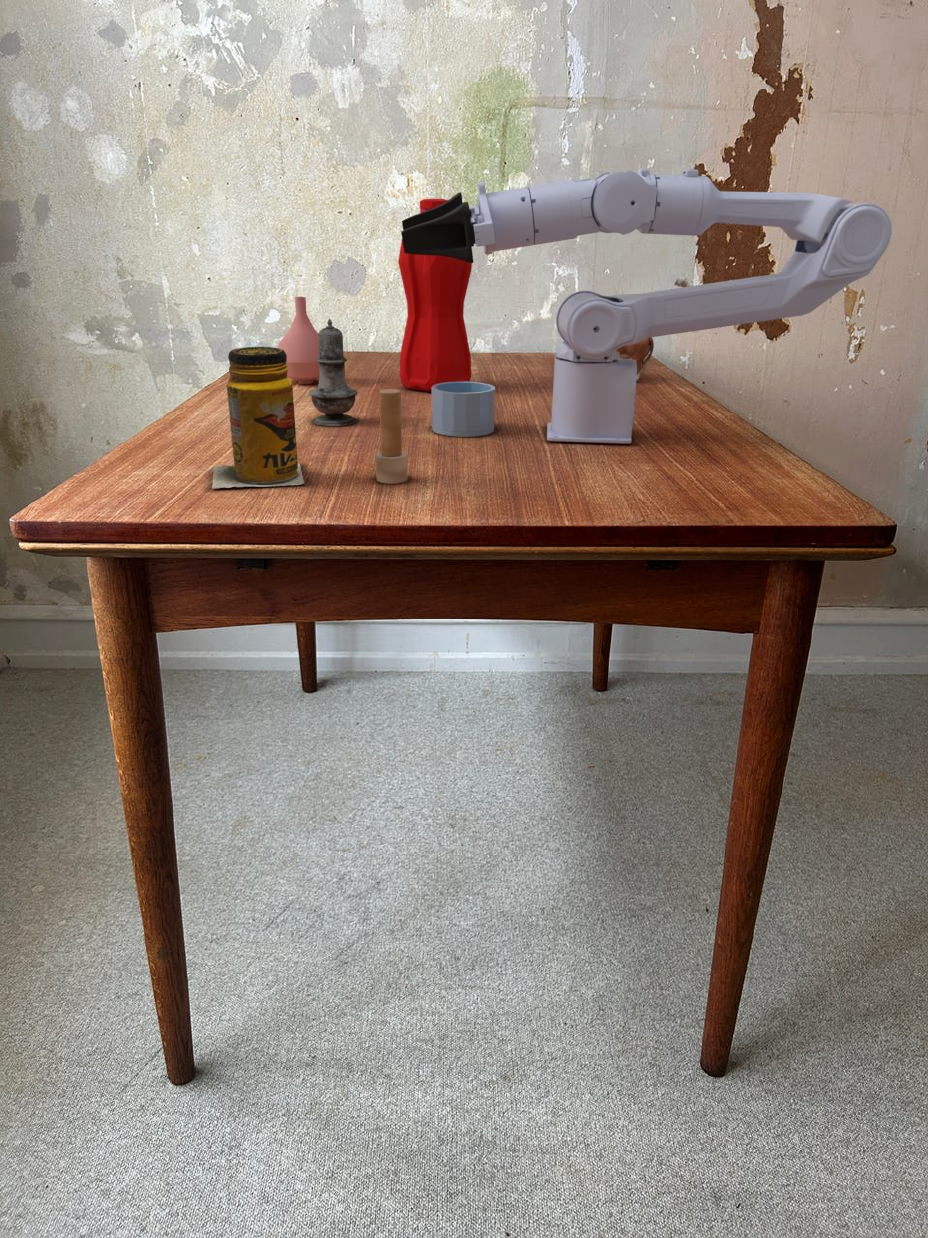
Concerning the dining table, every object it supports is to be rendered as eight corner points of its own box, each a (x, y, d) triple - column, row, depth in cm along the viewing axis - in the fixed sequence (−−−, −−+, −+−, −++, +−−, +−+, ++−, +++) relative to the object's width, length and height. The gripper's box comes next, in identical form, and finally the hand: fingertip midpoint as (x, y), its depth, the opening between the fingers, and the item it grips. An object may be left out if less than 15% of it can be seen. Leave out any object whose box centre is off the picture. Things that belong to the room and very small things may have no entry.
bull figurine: (588, 369, 146) (592, 317, 143) (655, 381, 137) (661, 325, 134) (571, 372, 143) (574, 319, 140) (638, 384, 135) (643, 328, 131)
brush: (409, 475, 88) (408, 388, 84) (404, 484, 85) (403, 394, 81) (379, 474, 88) (376, 387, 84) (373, 483, 85) (371, 393, 82)
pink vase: (305, 375, 137) (300, 293, 132) (342, 381, 133) (338, 296, 128) (268, 382, 131) (261, 297, 126) (305, 389, 127) (299, 300, 122)
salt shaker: (350, 428, 106) (345, 322, 101) (303, 425, 107) (296, 320, 102) (364, 417, 111) (361, 316, 106) (320, 415, 112) (314, 315, 107)
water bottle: (484, 384, 133) (489, 199, 122) (444, 395, 124) (445, 198, 114) (433, 377, 137) (433, 198, 127) (391, 388, 129) (387, 197, 118)
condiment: (304, 485, 84) (296, 354, 79) (212, 490, 82) (197, 356, 77) (299, 465, 91) (291, 343, 86) (214, 469, 89) (200, 344, 84)
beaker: (495, 423, 109) (496, 382, 107) (492, 438, 102) (493, 394, 100) (435, 421, 110) (435, 380, 107) (428, 435, 103) (428, 392, 101)
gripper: (518, 168, 98) (397, 187, 98) (534, 181, 86) (395, 203, 86) (525, 236, 102) (408, 254, 102) (541, 258, 89) (407, 279, 90)
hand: (403, 236), depth 94 cm, fingers open, 7 cm apart
